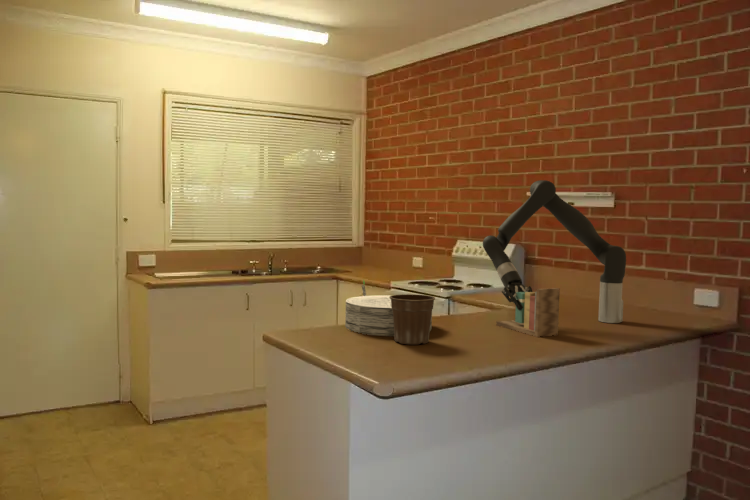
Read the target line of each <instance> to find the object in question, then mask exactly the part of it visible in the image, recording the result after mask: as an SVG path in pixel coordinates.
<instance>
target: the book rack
mask: <svg viewBox="0 0 750 500" xmlns="http://www.w3.org/2000/svg"><path fill="white" fill-rule="evenodd" d="M560 290H561V288H558V287H551V288H536V291H533V292H525V307H524V323H518V322H515V320H513V319H512V320H498V321H496V326H498V327H501V326H502V328H505V329H508V328H509V329H508V330H511V329H512V330H511V331H515V330H516V332H518V331H519V333H523V334H525V333H526V335H529V336H532V335H533V337H536V338H540V336H543V337H551V336H552V335H554V336H559V317H560V316H559V315H560ZM552 337H553V336H552Z"/></svg>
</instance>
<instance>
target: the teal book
mask: <svg viewBox="0 0 750 500" xmlns="http://www.w3.org/2000/svg"><path fill="white" fill-rule="evenodd" d="M516 293H517V297H518V300H519V301H520V303H521V304H522V306H523V309H522V310H520V311H519V310H518V309H517V307H516V306H515V314H514V316H515V318H514V319H515V322H518V323H524V307H525V292H516Z"/></svg>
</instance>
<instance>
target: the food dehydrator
mask: <svg viewBox="0 0 750 500" xmlns="http://www.w3.org/2000/svg"><path fill="white" fill-rule="evenodd" d="M362 283H363V284H362V285H361V291H362V296H361V295H360V296H353V297H348V298H347V299H345V316H344V317H345V321H344V323H345V324H344V325H345V326H344V327H346V328H347V329H349V330H351V331H350V332H352V331H354V332H353V333H355V332H358V333H357V334H360V333H362V335H366V334H367V335H368V336H375V337H376V336H378V337H394V321H393V309H392V307H391V299H390V296H392V294H390V295H389V294H387V295H386V294H385V295H383V294H382V295H381V294H380V295H367V290H366V286H365V284H366V283H365V279H363V282H362ZM432 321H433V313H432V314H431V323H430V332H431V331H432V329H433V328H432V325H433V324H432V323H433V322H432ZM346 328H345V329H346ZM347 329H346V330H347ZM349 330H348V331H349Z"/></svg>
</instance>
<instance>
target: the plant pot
mask: <svg viewBox="0 0 750 500" xmlns="http://www.w3.org/2000/svg"><path fill="white" fill-rule="evenodd" d="M391 295H392V294H391ZM390 299H391V307H392V309H393V321H394V336H393V337H394V342H395V343H399V344H401V345H402V344H404V345H407V346H408V345H409V346H410V345H412V346H413V345H421V344H423V345H425V344H427V343H429V340H430V332H431V331H430V323H431V314H432V315H433V309H434V305H435V303H434V302H435V300H436V297H435V296H433V295H425V294H411V293H410V294H409V293H408V294H394V295H392V296H390Z"/></svg>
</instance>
